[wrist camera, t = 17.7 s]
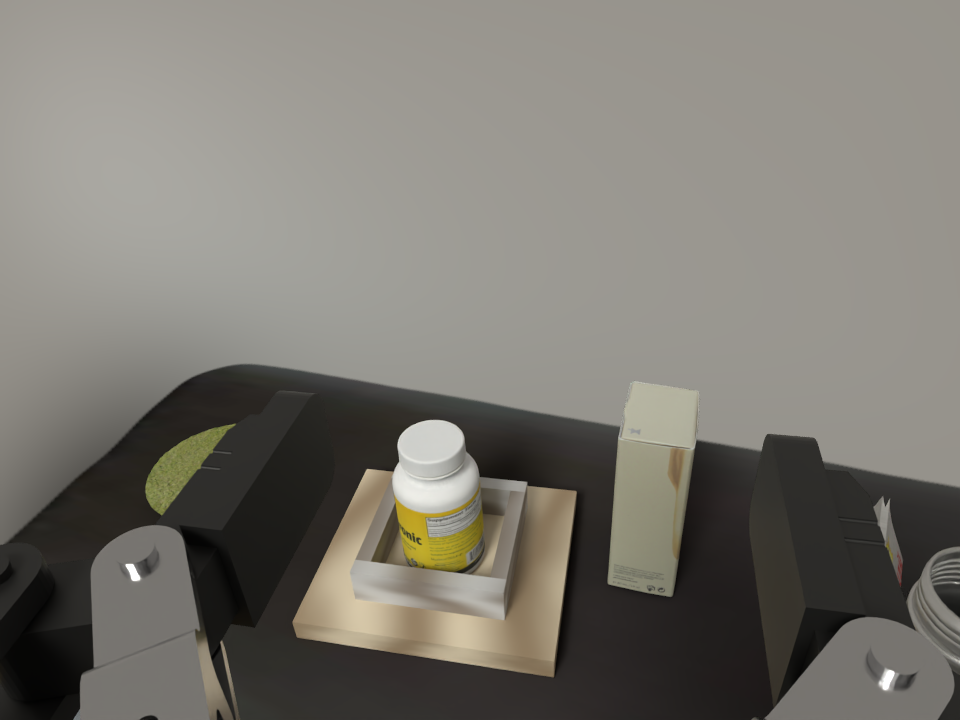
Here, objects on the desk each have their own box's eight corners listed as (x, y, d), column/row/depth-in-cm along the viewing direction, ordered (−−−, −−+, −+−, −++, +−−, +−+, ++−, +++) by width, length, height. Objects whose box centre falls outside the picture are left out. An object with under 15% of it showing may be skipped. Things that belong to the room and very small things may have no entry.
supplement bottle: (397, 534, 50) (379, 422, 45) (473, 516, 51) (464, 404, 46) (412, 595, 46) (394, 479, 40) (495, 574, 47) (488, 457, 41)
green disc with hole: (280, 539, 52) (275, 520, 51) (127, 542, 53) (118, 522, 52) (314, 439, 62) (310, 421, 60) (184, 441, 62) (178, 423, 61)
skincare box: (673, 600, 46) (696, 453, 40) (605, 586, 47) (616, 441, 41) (681, 528, 51) (702, 387, 45) (618, 517, 53) (630, 377, 46)
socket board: (576, 506, 54) (577, 465, 51) (553, 677, 42) (554, 633, 40) (369, 483, 57) (362, 443, 54) (296, 637, 45) (284, 594, 43)
